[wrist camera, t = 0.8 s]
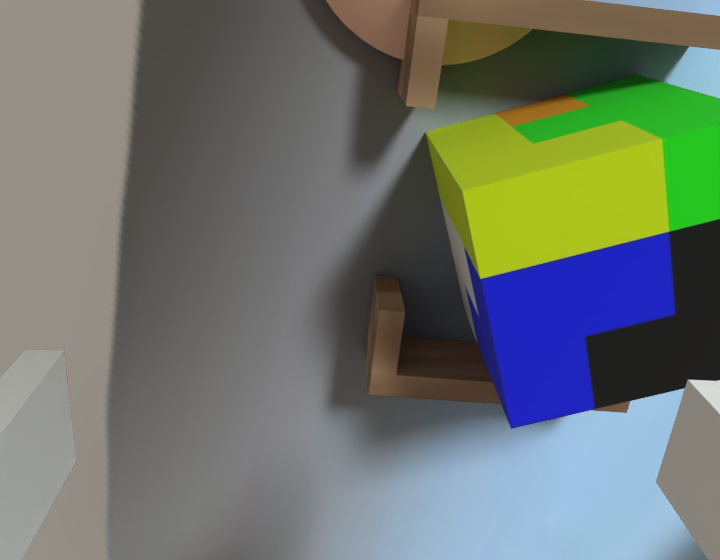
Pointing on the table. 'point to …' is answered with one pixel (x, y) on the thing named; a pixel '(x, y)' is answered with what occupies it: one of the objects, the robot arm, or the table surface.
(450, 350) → the pocket frame
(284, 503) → the table surface
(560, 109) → the puzzle toy
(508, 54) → the table surface
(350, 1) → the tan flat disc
